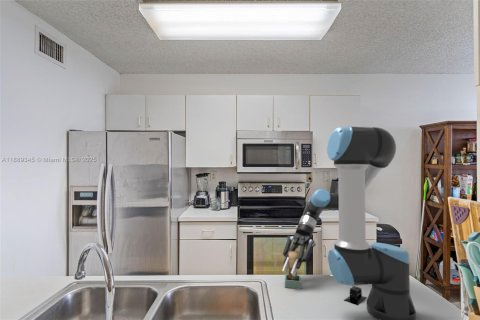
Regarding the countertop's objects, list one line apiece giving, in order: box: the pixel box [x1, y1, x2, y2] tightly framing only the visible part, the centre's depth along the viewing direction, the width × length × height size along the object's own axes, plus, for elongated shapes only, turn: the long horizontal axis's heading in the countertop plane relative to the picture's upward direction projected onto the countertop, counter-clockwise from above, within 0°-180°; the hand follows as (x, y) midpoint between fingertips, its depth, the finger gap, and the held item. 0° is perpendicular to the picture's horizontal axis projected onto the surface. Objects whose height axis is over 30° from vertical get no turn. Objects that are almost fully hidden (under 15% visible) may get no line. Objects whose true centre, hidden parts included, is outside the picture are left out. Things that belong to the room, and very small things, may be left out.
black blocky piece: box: [343, 285, 368, 306], centre depth 106 cm, size 12×7×5 cm, turn 133°
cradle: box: [284, 274, 302, 290], centre depth 118 cm, size 7×7×3 cm
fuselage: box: [288, 250, 298, 281], centre depth 118 cm, size 4×4×12 cm
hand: (288, 273), depth 115 cm, fingers closed on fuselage, 3 cm apart
